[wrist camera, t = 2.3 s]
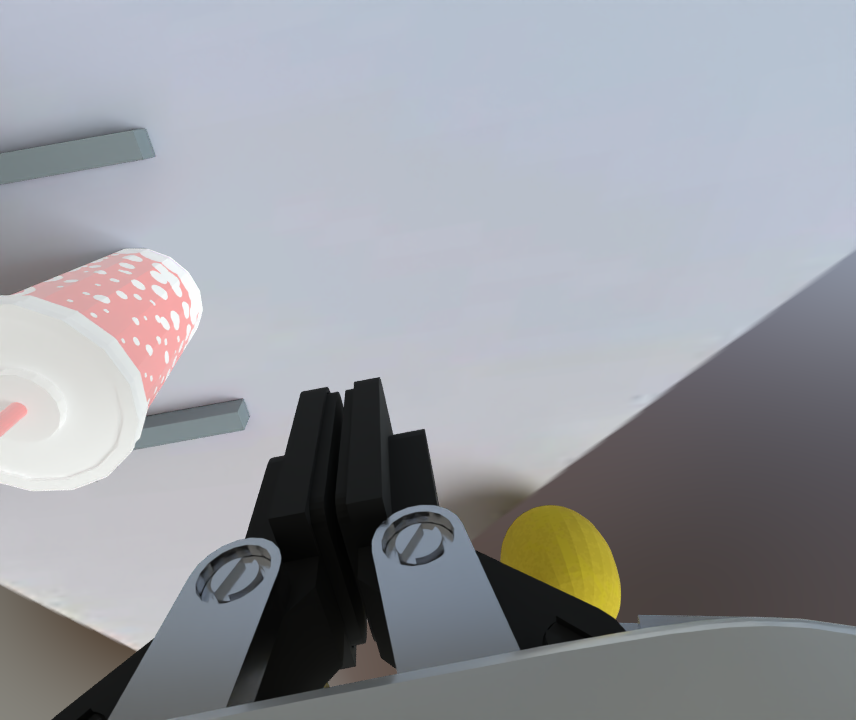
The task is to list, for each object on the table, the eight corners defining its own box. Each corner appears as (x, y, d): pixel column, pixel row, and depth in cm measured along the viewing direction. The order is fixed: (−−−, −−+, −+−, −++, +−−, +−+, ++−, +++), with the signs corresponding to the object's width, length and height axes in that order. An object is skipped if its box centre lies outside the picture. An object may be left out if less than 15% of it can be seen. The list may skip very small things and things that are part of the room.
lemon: (602, 516, 31) (670, 642, 23) (524, 565, 32) (566, 700, 25) (549, 457, 29) (607, 576, 21) (468, 513, 30) (496, 643, 23)
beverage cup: (191, 216, 22) (-68, 369, 9) (239, 350, 24) (91, 611, 12) (43, 244, 22) (-419, 436, 9) (108, 375, 24) (-180, 663, 12)
